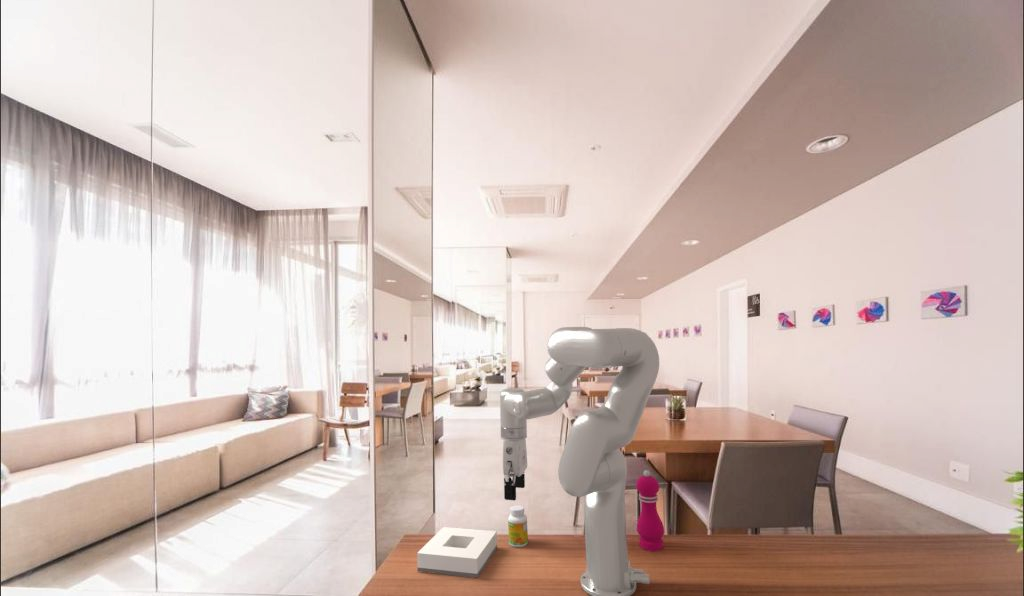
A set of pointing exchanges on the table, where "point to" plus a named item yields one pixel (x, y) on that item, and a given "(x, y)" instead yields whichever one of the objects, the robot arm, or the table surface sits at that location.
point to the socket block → (458, 552)
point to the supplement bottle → (517, 527)
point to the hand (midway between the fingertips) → (515, 493)
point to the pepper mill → (649, 514)
